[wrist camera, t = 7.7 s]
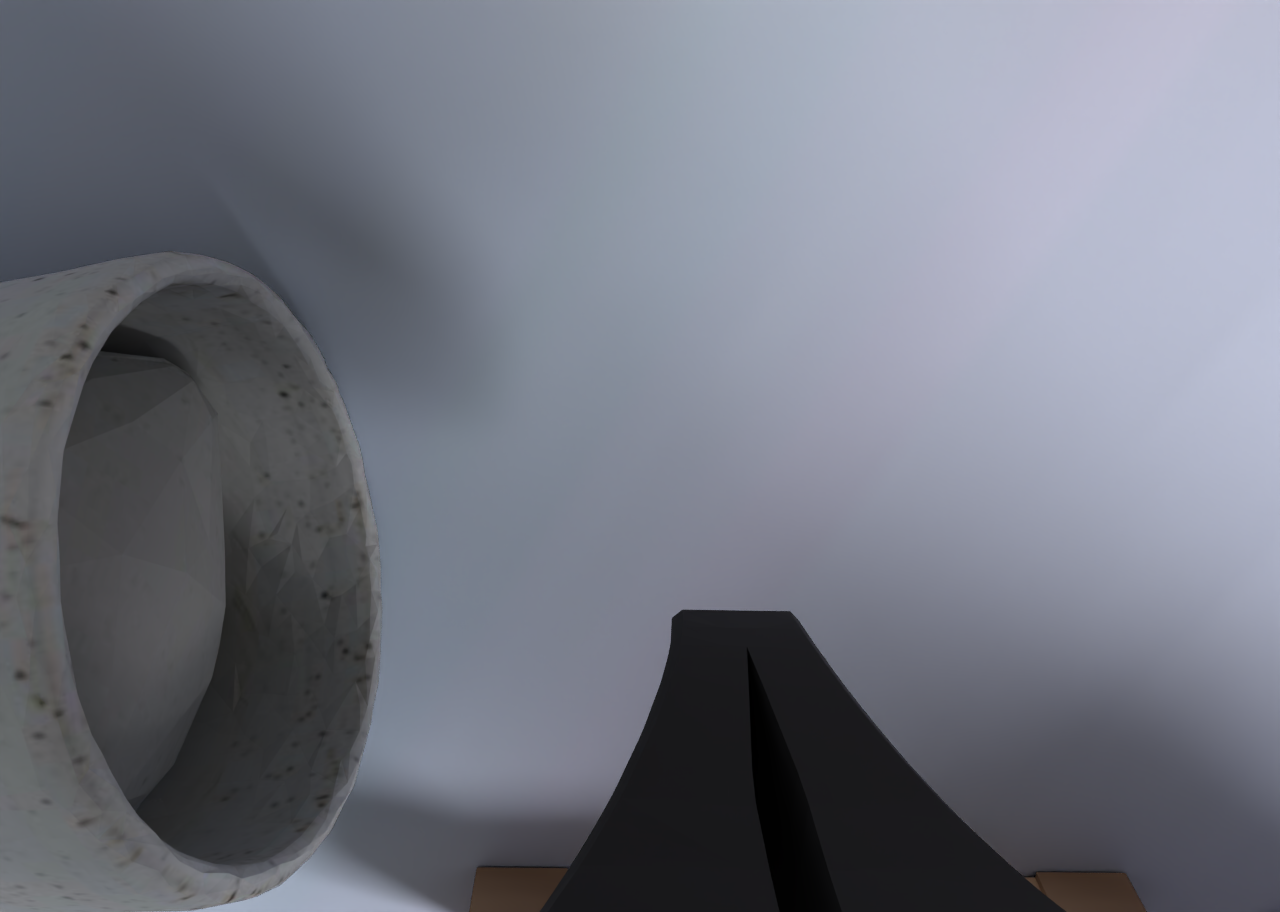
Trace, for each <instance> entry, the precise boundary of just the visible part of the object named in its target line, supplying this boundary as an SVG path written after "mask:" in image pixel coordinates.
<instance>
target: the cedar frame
mask: <svg viewBox="0 0 1280 912" xmlns="http://www.w3.org/2000/svg"><path fill="white" fill-rule="evenodd" d="M566 872H567V868H495V867H477V869H476V875H475V881H474V887H473V892H472V898H471V904H470V910H469V912H540V910H541V909H542V907H543V906H544V905H545V903H546V902H547V900H548V899H549V897H550V896H551V894H552V893H553V891H554V890H555V888H556V887H557V885H558V884H559V882H560V881H561V879H562V878H563V876H564V875H565V873H566ZM1024 878H1026V879H1027V880H1028V881H1029V882H1030V883H1032V884H1033V885H1034V886H1035V887H1036V888H1037V889H1039V890H1040V891H1041V892H1042V893H1043V894H1045V895H1046V896H1047V897H1048V898H1050V899H1051V900H1052V901H1054V902H1055V903H1056V904H1057V905H1059V906H1060V907H1061V908H1062V909H1064V910H1065V911H1066V912H1147V911H1146V910H1145V908H1144V906H1143V904H1142V902H1141V900H1140V899H1139V897H1138V895H1137V893H1136V891H1135V889H1134V888H1133V886H1132V884H1131V882H1130V880H1129V878H1128V877H1127V875H1126V873H1073V872H1036V876H1035V877H1024Z"/></svg>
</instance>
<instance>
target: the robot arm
mask: <svg viewBox="0 0 1280 912" xmlns="http://www.w3.org/2000/svg"><path fill="white" fill-rule="evenodd" d="M540 912H1066V911H1065V910H1064V909H1062V908H1061V907H1060V906H1059V905H1057V904H1056V903H1055V902H1054V901H1052V900H1051V899H1050V898H1048V897H1047V896H1046V895H1045V894H1043V893H1042V892H1041V891H1040V890H1039V889H1037V888H1036V887H1035V886H1034V885H1033V884H1032V883H1030V882H1029V881H1028V880H1027V879H1026V878H1024V877H1023V876H1022V875H1021V874H1020V873H1019V872H1017V871H1016V870H1015V869H1014V868H1013V867H1012V866H1011V865H1009V864H1008V863H1007V862H1006V861H1005V860H1004V859H1003V858H1002V857H1001V856H1000V855H999V854H997V853H996V852H995V851H994V850H993V849H992V848H991V847H990V846H989V845H988V844H987V843H985V842H984V841H983V840H982V839H981V838H980V837H979V836H978V835H977V834H976V833H975V832H974V831H972V830H971V829H970V828H969V827H968V826H967V825H966V824H965V823H964V822H963V821H962V820H961V819H960V818H959V817H958V816H957V815H956V814H955V813H954V812H953V811H952V810H951V809H950V807H949V806H948V805H947V804H946V803H945V802H944V801H943V800H942V799H941V798H940V797H939V796H938V795H937V794H936V793H935V792H934V791H933V790H932V789H931V787H930V786H929V785H928V784H927V783H926V782H925V781H924V780H923V779H922V778H921V777H920V776H919V774H918V773H917V772H916V771H915V770H914V769H913V768H912V767H911V766H910V765H909V764H908V762H907V761H906V760H905V759H904V758H903V757H902V755H901V754H900V753H899V752H898V751H897V750H896V749H895V747H894V746H893V745H892V744H891V743H890V742H889V740H888V739H887V738H886V737H885V736H884V734H883V733H882V732H881V731H880V729H879V728H878V727H877V726H876V724H875V723H874V722H873V721H872V720H871V718H870V717H869V716H868V715H867V713H866V712H865V711H864V710H863V709H862V707H861V706H860V705H859V704H858V702H857V701H856V700H855V698H854V697H853V696H852V695H851V693H850V692H849V691H848V689H847V688H846V687H845V685H844V684H843V683H842V681H841V680H840V679H839V677H838V676H837V675H836V673H835V672H834V671H833V669H832V668H831V667H830V665H829V664H828V662H827V661H826V660H825V658H824V657H823V655H822V654H821V653H820V651H819V650H818V648H817V647H816V645H815V644H814V643H813V641H812V640H811V638H810V637H809V635H808V634H807V632H806V631H805V629H804V628H803V626H802V625H801V623H800V622H799V620H798V619H797V618H796V617H795V616H794V615H793V614H792V613H791V612H790V611H727V610H682V611H680V612H679V613H678V614H677V615H675V616H674V617H673V618H672V629H671V645H670V650H669V654H668V659H667V663H666V666H665V670H664V673H663V677H662V680H661V683H660V686H659V689H658V692H657V695H656V697H655V700H654V703H653V705H652V708H651V711H650V713H649V716H648V719H647V721H646V724H645V727H644V729H643V731H642V734H641V736H640V738H639V741H638V743H637V745H636V747H635V749H634V751H633V753H632V755H631V758H630V760H629V762H628V764H627V766H626V768H625V770H624V772H623V774H622V777H621V779H620V781H619V783H618V785H617V787H616V789H615V791H614V793H613V795H612V796H611V798H610V800H609V802H608V804H607V806H606V808H605V809H604V811H603V813H602V815H601V817H600V818H599V820H598V822H597V824H596V825H595V827H594V829H593V830H592V832H591V834H590V835H589V837H588V839H587V840H586V842H585V844H584V845H583V847H582V849H581V850H580V852H579V854H578V855H577V857H576V858H575V860H574V861H573V863H572V864H571V866H570V867H569V869H568V870H567V872H566V873H565V875H564V876H563V878H562V879H561V881H560V882H559V884H558V885H557V887H556V888H555V890H554V891H553V893H552V894H551V896H550V897H549V899H548V900H547V902H546V903H545V905H544V906H543V907H542V909H541V910H540Z"/></svg>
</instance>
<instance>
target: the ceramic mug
mask: <svg viewBox="0 0 1280 912" xmlns="http://www.w3.org/2000/svg"><path fill="white" fill-rule="evenodd" d="M381 624H382V599H381V566H380V552H379V540H378V530H377V525H376V520H375V516H374V512H373V507H372V503H371V498H370V493H369V489H368V485H367V481H366V477H365V473H364V466H363V460H362V456H361V451H360V447H359V443H358V441H357V438H356V435H355V433H354V430H353V427H352V424H351V421H350V418H349V415H348V412H347V410H346V407H345V404H344V402H343V400H342V398H341V396H340V393H339V390H338V387H337V384H336V381H335V380H334V378H333V376H332V375H331V373H330V371H329V370H328V368H327V366H326V363H325V361H324V358H323V356H322V354H321V352H320V351H319V349H318V347H317V345H316V343H315V342H314V340H313V338H312V336H311V335H310V334H309V332H308V331H307V330H306V329H305V328H304V327H303V326H302V324H301V323H300V322H299V321H298V320H297V319H296V317H295V316H294V315H293V313H292V312H291V311H290V309H289V308H288V307H287V306H286V304H285V303H284V302H283V300H282V299H281V298H280V297H279V296H278V295H277V294H276V293H275V292H274V291H273V290H271V289H270V288H269V287H268V286H267V285H266V284H265V283H263V282H262V281H261V280H260V279H258V278H257V277H256V276H254V275H253V274H251V273H249V272H247V271H245V270H243V269H241V268H239V267H237V266H235V265H233V264H231V263H229V262H225V261H222V260H218V259H215V258H212V257H208V256H204V255H199V254H192V253H183V252H174V251H166V252H160V253H153V254H146V255H140V256H133V257H126V258H119V259H114V260H110V261H106V262H101V263H97V264H92V265H88V266H83V267H79V268H74V269H70V270H65V271H61V272H56V273H50V274H44V275H39V276H33V277H27V278H21V279H16V280H10V281H4V282H0V912H153V911H187V910H197V909H203V908H208V907H213V906H218V905H223V904H228V903H233V902H238V901H243V900H247V899H250V898H253V897H256V896H259V895H261V894H263V893H265V892H267V891H269V890H271V889H274V888H276V887H278V886H280V885H281V884H282V883H283V882H284V881H286V880H287V879H288V878H289V877H290V876H291V875H292V874H293V873H294V872H295V871H297V870H298V869H299V868H300V867H301V866H302V865H303V864H304V863H305V862H306V861H307V860H308V859H309V858H310V857H311V856H312V855H313V854H314V852H315V851H316V850H317V848H318V847H319V846H320V844H321V843H322V842H323V841H324V839H325V838H326V837H327V836H328V834H329V833H330V831H331V830H332V828H333V826H334V824H335V822H336V820H337V818H338V816H339V814H340V812H341V809H342V807H343V805H344V803H345V802H346V800H347V798H348V796H349V794H350V792H351V791H352V789H353V787H354V785H355V781H356V778H357V774H358V770H359V766H360V762H361V758H362V755H363V751H364V747H365V744H366V740H367V736H368V732H369V729H370V725H371V720H372V713H373V706H374V701H375V696H376V691H377V687H378V682H379V669H380V652H381Z"/></svg>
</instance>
